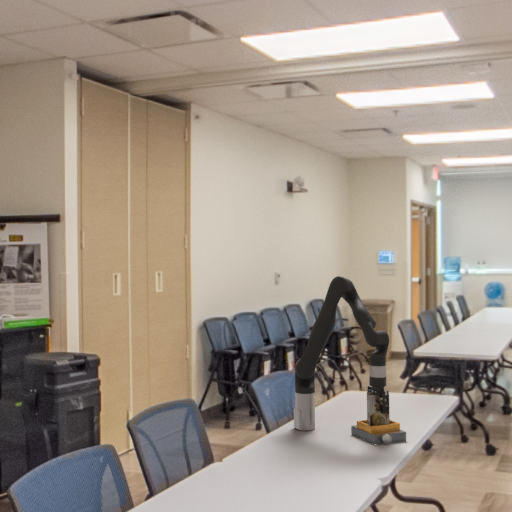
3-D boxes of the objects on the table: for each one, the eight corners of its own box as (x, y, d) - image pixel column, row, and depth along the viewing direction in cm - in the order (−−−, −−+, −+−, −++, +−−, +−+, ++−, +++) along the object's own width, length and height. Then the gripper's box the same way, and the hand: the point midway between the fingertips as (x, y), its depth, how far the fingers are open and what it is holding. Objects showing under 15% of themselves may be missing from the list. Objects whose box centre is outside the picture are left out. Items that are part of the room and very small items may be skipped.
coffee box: (386, 426, 336) (386, 391, 336) (390, 430, 329) (389, 394, 329) (366, 427, 335) (366, 391, 335) (369, 430, 329) (369, 394, 329)
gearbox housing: (378, 446, 318) (377, 430, 317) (351, 434, 338) (351, 419, 338) (409, 442, 324) (409, 426, 324) (381, 431, 344) (381, 416, 344)
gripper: (362, 373, 337) (362, 409, 337) (379, 378, 324) (379, 415, 324) (376, 372, 340) (376, 407, 340) (393, 377, 327) (393, 414, 327)
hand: (377, 411), depth 332 cm, fingers open, 8 cm apart
